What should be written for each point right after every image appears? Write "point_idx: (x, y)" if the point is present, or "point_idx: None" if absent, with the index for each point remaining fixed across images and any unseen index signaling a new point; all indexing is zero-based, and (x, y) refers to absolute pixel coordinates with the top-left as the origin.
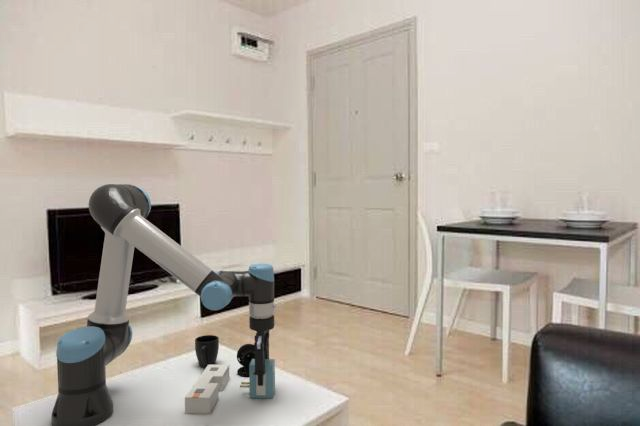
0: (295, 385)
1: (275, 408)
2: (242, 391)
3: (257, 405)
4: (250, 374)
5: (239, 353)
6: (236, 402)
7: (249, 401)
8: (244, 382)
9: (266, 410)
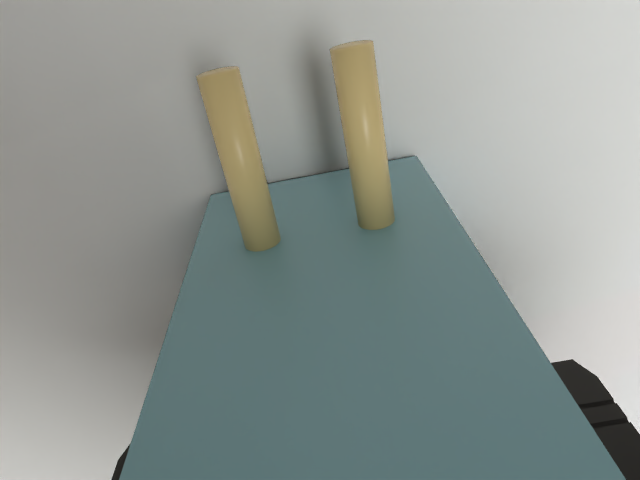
0: None
1: (99, 464)
2: (382, 20)
3: (84, 324)
4: (140, 450)
5: None
6: (42, 73)
7: (135, 219)
8: (350, 113)
9: (30, 419)
